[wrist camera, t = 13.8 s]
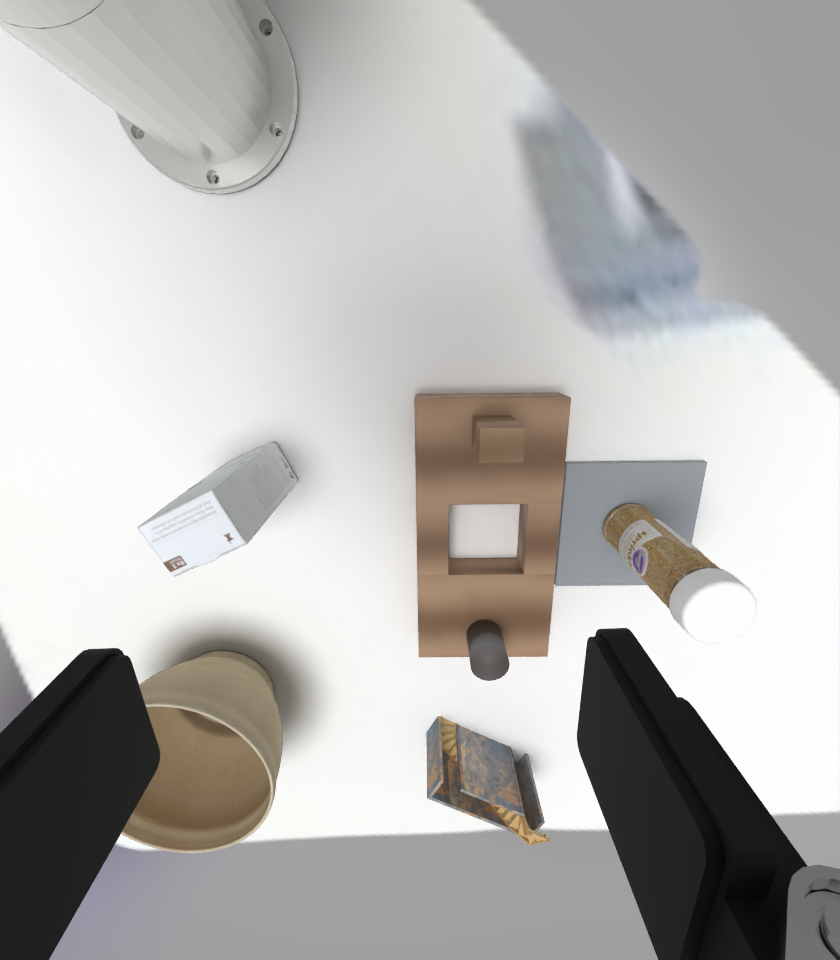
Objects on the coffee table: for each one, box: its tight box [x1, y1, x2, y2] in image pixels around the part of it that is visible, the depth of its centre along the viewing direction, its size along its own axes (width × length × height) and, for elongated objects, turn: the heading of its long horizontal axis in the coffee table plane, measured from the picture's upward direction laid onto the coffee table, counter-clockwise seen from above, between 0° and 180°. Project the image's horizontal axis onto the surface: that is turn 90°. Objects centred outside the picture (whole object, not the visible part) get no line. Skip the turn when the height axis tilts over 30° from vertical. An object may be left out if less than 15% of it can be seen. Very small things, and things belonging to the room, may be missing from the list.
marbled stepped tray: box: [427, 716, 550, 845], centre depth 45 cm, size 11×3×10 cm, turn 62°
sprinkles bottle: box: [603, 504, 757, 643], centre depth 34 cm, size 5×5×14 cm
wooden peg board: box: [415, 393, 571, 681], centre depth 37 cm, size 24×12×8 cm, turn 1°
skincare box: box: [137, 442, 298, 576], centre depth 34 cm, size 6×4×12 cm
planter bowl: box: [121, 651, 283, 853], centre depth 42 cm, size 16×16×11 cm
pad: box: [554, 461, 707, 586], centre depth 40 cm, size 12×12×1 cm
